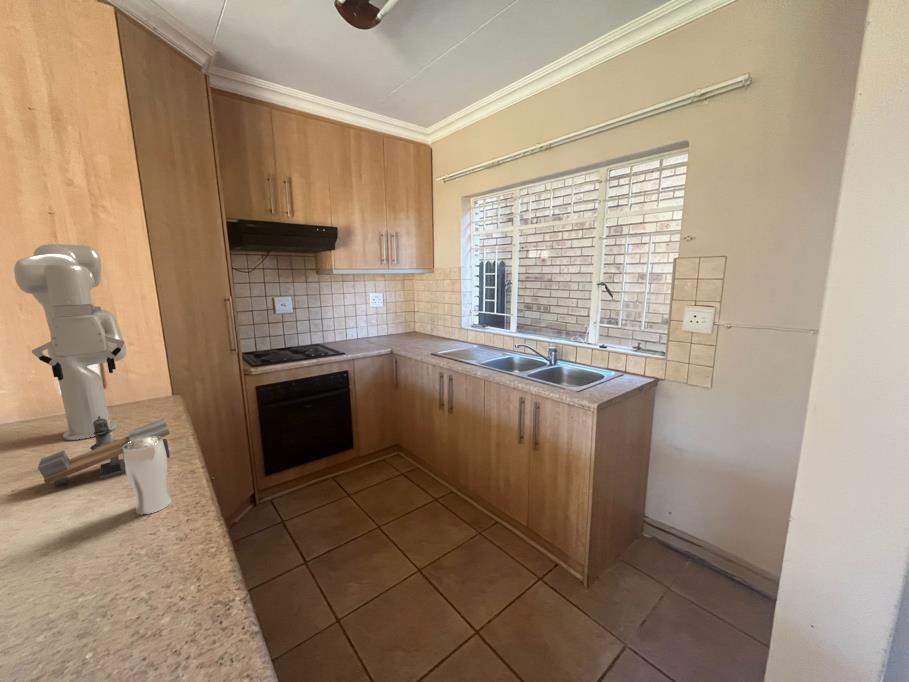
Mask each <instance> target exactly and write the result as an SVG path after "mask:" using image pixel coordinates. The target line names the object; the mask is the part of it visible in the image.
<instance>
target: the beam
mask: <svg viewBox="0 0 909 682" xmlns="http://www.w3.org/2000/svg"><path fill="white" fill-rule="evenodd" d="M170 435H171V433H170V430H169V427H168V424H167V423H166V420H165V418H162V419H159V420H156V421H154V422H151V423H148V424H146V425H144V426H141V427H138V428H136V429H133V430H131V431H128V436H125V437H123V438H120V439H117V440H118V441H115V442H112V443H110V444H107V445H105V446H102V447H100V448H97V449H94V450H89V451H88V452H84V453H82V454H79V455H77V456H74V457H71V458H69V456H68V455H67V453H66V451H65V450H61V451H58V452H56V453H53V454H51V455H48V456H46V457H42V458H40V461H39V464H38V466H37V469H38V471H39V473H40V474H41V476H42V478H43V479H44V480H43V481H44V483H45V485H49V484H51V483H54V481H57V480H59V479H62V478H64V477H66V476H67V477H68V476H71V475H73V474H76V473H78V472H81V471H83V470H85V469H88V468H91V467H93V466H95V465H98V464H100V463H101V464H102V463H103V462H105V461H107V460H110V458H113V457H115V456H118V455H119V456H121V455H123V449H122V447H123V446H124V445H125V444H126V443H128V442H130V441H133V440H136V439H139V438H143V437H149V436H160V437H162V438H164V437H166V436H167V437H168V436H170Z"/></svg>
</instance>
